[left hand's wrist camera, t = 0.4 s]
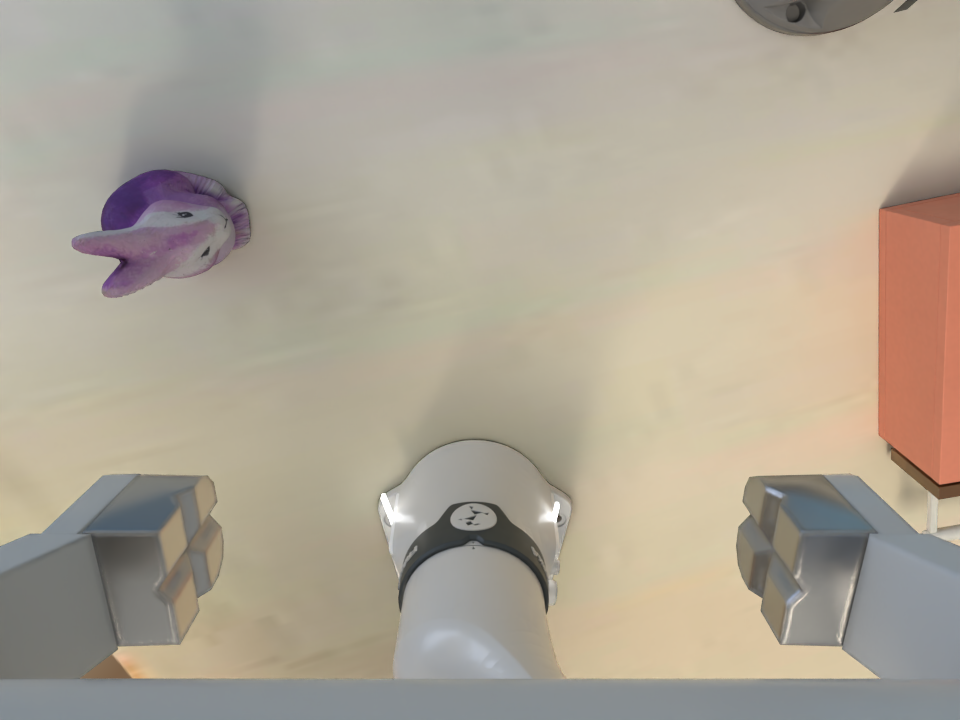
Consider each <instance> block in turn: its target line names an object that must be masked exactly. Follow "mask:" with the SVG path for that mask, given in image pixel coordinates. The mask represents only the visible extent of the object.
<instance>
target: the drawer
mask: <svg viewBox="0 0 960 720" xmlns="http://www.w3.org/2000/svg"><path fill="white" fill-rule="evenodd" d="M891 460H892V461H894V462H895V463H896V464H897V465H898V466H899V467H901V468H902V469H903V470H904V471H905V472H907V473H908V474H909V475H910V476H911V477H912V478H914V479H915V480H916V481H917V482H918V483H919V484H921V485H922V486H923V487H924V488H925V489H926V490H928V501H927V530H924V531H923V532H922V534H932V535H934V536H936V537H939V538H941V539H943V540H946V541H954V540H960V525H954V526H948V527H942V528H937V519H938V499H945V498H950V497H956V496H960V481H958V482H953V483H947V484H941V485H939V484H938V483H937V482H936V481H934V480H933V479H932V478H931V477H930V476H928V475H927V474H926V473H925V472H924V471H922V470H921V469H920V468H919V467H917V466H916V465H915V464H914V463H913V462H911V461H910V460H909V459H908V458H906V457H905V456H904V455H903V454H902V453H900V452H899V451H898V450H897V449H895V448H892V449H891Z"/></svg>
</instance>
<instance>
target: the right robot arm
mask: <svg viewBox="0 0 960 720" xmlns="http://www.w3.org/2000/svg"><path fill="white" fill-rule="evenodd" d="M735 1H736V2H737V3H738V5H739V6H740V7H741V8H742V9H743V10H744V11H745V12H746V13H747V14H748V15H749V16H750V17H751V18H753V19H754V20H755V21H757V22H758V23H760V24H761V25H763V26H765V27H767V28H769V29H771V30H774V31H777V32H780V33H783V34H788V35H795V36H814V35H820V34H826V33H830V32H834V31H838V30H842V29H845V28H848V27H850V26H853V25H855V24H857V23H859V22H861V21H863V20H865V19H867V18H869V17H870V16H872V15H873V14H875V13H877V12H878V11H880V10H881V9H883V8H884V7H885V6H887V5H888V4H889V3H891V2H892V1H893V0H735ZM916 1H917V0H907V1H906V2H905V3H904V4H902V5H901V6H900V7H899V8H898V9H897V10H896V11H895V12H898V11H902V10H907V9H908V8H909V7H910V6H911V5H912V4H914V3H915V2H916ZM893 13H894V12H893Z"/></svg>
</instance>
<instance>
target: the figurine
mask: <svg viewBox="0 0 960 720" xmlns="http://www.w3.org/2000/svg"><path fill="white" fill-rule="evenodd" d="M248 215H249V214H248V212H247V208H246V206H245V204H244V203H243V202H242V201H240V200H239V199H236V198H234V197H232V196H230V195H228V194H227V192H226V190H225V188H224V187H223V186H222V185H221V184H219V183H218V182H217V181H215V180H212V179H209V178H206V177H203V176H198V175H195V174H191V173H186V172H181V171H170V170H154V171H149V172H146V173H143V174H141V175H139V176H137V177H135V178H133V179H131V180H130V181H128V182H126V183H125V184H123V185H122V186H121V187H119V188H118V189H117V190H116V191H115V192H114V193H113V194H112V195H111V196H110V197H109V198H108V200H107V202H106V203H105V206H104V208H103V210H102V215H101V226H102V230H103V231H97V232H91V233H86V234H82V235H79V236H77V237H75V238H73V240H72V247H73V248H74V249H76V250H78V251H80V252H82V253H86V254H91V255H99V256H106V257H113V258H117V259H119V260H120V262H121V263H120V264H119V265H118V267H117V268H116V269H115V270H114V272H113V273H112V274H111V275H110V276H109V277H108V279H107V280H106V281H105V283H104V284H103V287H102V294H103V295H104V296H106V297H110V298H112V297H113V298H117V297H123V296H124V295H129V294H131V293H135V292H136V291H138V290H140V289H143V288H144V287H146V286H148V285H151V284H152V283H153V282H155V281H157V280H159V279H161V278H162V277H166V278H187V277H192V276H195V275H198V274H201V273H203V272H205V271H207V270H209V269H210V268H211V267H212V266H213V265H216V264H218V263H219V262H221V261H222V260H224V259H225V258H226V256H227V255H228V254H229V253H230V251H231V250H233V249H237V248H241V247H243V246H244V245H245V244H247V243H248V242H249V240H250V229H249V228H250V226H249V224H250V223H249V219H248V218H249V216H248Z"/></svg>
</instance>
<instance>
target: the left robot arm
mask: <svg viewBox="0 0 960 720" xmlns="http://www.w3.org/2000/svg"><path fill="white" fill-rule="evenodd" d="M216 503H217V497H216V492H215V486H214V482H213V481H212V480H211V479H210V478H209V477H208V476H199V475H147V474H144V475H141V474H112V475H104V476H102V477H101V478H100V479H99V480H98V481H97V482H96V483H94V484H93V485H92V486H91V487H90V488H89V489H88V490H87V491H86V492H85V493H84V494H83V495H82V496H81V497H80V498H79V499H78V500H76V501H75V502H74V503H73V504H72V505H71V506H70V507H69V508H68V509H67V510H66V511H65V512H64V513H63V514H62V515H61V516H59V517H58V518H57V519H56V520H55V521H54V522H53V523H52V524H51V525H50V526H49V527H48V528H47V529H46V530H45V531H44V532H43V533H41V534H28V535H26V536H24V537H21V538H19V539H17V540H14V541H12V542H9V543H7V544H5V545H2V546H0V720H960V546H958V545H955V544H953V543H951V542H948V541H946V540H943V539H941V538H939V537H936V536H934V535H932V534H919V533H917V532H916V531H915V530H914V529H913V528H912V527H911V526H910V525H909V524H908V523H907V522H906V521H905V520H904V519H903V518H902V517H901V516H900V515H898V514H897V513H896V512H895V511H894V510H893V509H892V508H891V507H890V506H889V505H888V504H887V503H886V502H885V501H884V500H883V499H882V498H881V497H879V496H878V495H877V494H876V493H875V492H874V491H873V490H872V489H871V488H870V487H869V486H868V485H867V484H866V483H865V482H864V481H863V480H862V479H860V478H859V477H858V476H855V475H852V474H828V475H782V476H754V477H749V479H748V482H747V484H746V486H745V490H744V496H743V503H744V505H745V506H746V508H747V509H748V511H749V512H750V515H749V516H748V518H747V519H746V520H745V521H744V522H743V523H742V524H741V525H740V526H739V527H738V535H737V544H736V549H737V559H738V566H739V569H740V572H741V575H742V578H743V580H744V582H745V584H746V586H747V587H748V589H749V590H750V591H752V592H754V593H755V594H757V595H758V596H760V597H761V598H763V600H762V605H761V612H762V614H763V616H764V617H765V619H766V621H767V623H768V624H769V626H770V628H771V630H772V631H773V633H774V635H775V637H776V638H777V640H778V642H779V643H780V645H810V646H843V647H842V649H843V650H844V651H845V652H846V653H848V654H849V655H850V656H852V657H853V658H854V659H856V660H857V661H858V662H860V663H861V664H862V665H863V666H865V667H866V668H867V669H869V670H870V671H871V672H873V673H874V674H875V675H877V676H878V677H879V678H881V679H566V677H565V676H564V674H563V673H562V671H561V669H560V667H559V665H558V662H557V660H556V656H555V653H554V649H553V645H552V641H551V637H550V632H549V627H548V622H547V616H546V614H547V611H548V605H550V606H553V605H555V603H556V599H557V582H556V581H554V580H552V579H553V576H554V575H558V574H559V570H560V561H559V560H558V558H559V554H560V551H561V547H562V544H563V540H564V537H565V533H566V530H567V526H568V523H569V519H570V516H571V512H572V502H571V499H570V498H569V497H568V496H567V495H566V494H565V493H563V492H562V491H560V490H559V489H557V488H555V487H553V486H552V485H550V484H549V483H548V482H547V481H546V480H545V479H544V478H543V476H542V475H541V474H540V472H539V471H538V470H537V468H536V467H535V466H534V465H533V464H532V463H531V462H530V461H529V460H528V459H527V458H526V457H525V456H523V455H522V454H521V453H519V452H517V451H516V450H514V449H512V448H510V447H508V446H505V445H502V444H499V443H495V442H491V441H484V440H466V441H459V442H454V443H451V444H447V445H445V446H442V447H440V448H438V449H436V450H434V451H432V452H431V453H429V454H428V455H426V456H425V457H424V458H423V459H422V460H420V461H419V462H418V463H417V464H416V466H415V467H414V468H413V469H412V471H411V472H410V474H409V475H408V476H407V478H406V479H405V480H404V482H403V483H402V484H400V485H399V486H397V487H395V488H393V489H392V490H390V491H389V492H387V493H386V494H385V493H384V494H382V496H381V498H380V500H379V503H378V512H379V516H380V519H381V522H382V526H383V529H384V533H385V536H386V539H387V543H388V546H389V553H390V554H391V556H392V560H393V563H394V566H395V570H396V573H397V577H398V580H399V584H398V585H399V586H398V590H399V597H398V600H399V608H400V613H401V616H400V622H399V628H398V634H397V641H396V647H395V654H394V660H393V676H394V679H80V678H81V677H82V676H84V675H85V674H86V673H88V672H89V671H90V670H91V669H93V668H94V667H95V666H97V665H98V664H99V663H101V662H102V661H103V660H105V659H106V658H107V657H109V656H110V655H111V654H113V653H114V652H115V651H116V650H118V647H117V646H149V645H180V644H181V642H182V640H183V638H184V637H185V635H186V633H187V631H188V630H189V628H190V626H191V624H192V623H193V621H194V619H195V617H196V616H197V614H198V612H199V605H198V600H197V598H199V597H200V596H202V595H203V594H205V593H206V592H208V591H210V590H211V589H212V587H213V585H214V584H215V582H216V580H217V578H218V576H219V572H220V568H221V564H222V560H223V534H222V527H221V526H220V525H219V524H218V523H217V522H216V521H215V520H214V519H213V518H212V516H211V515H210V512H211V511H212V509H213V508H214V506H215V505H216ZM557 515H560V517H559V518H557Z"/></svg>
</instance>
